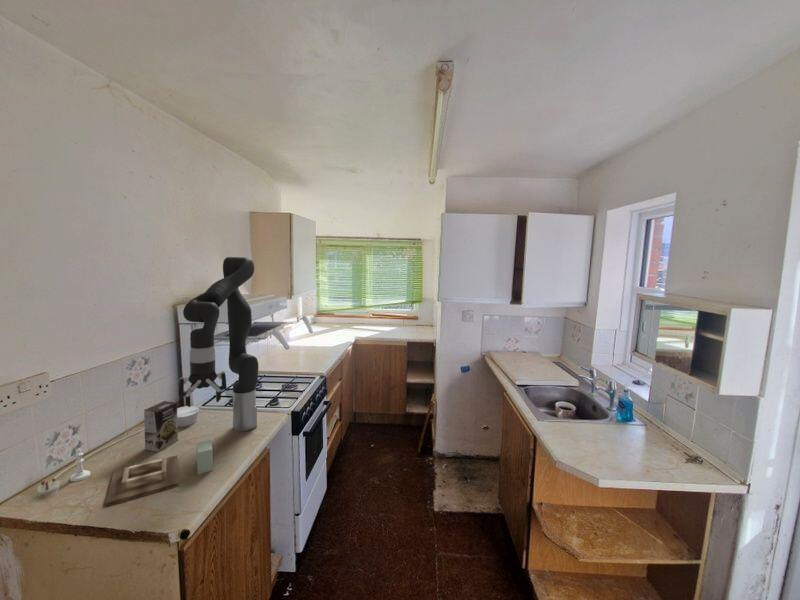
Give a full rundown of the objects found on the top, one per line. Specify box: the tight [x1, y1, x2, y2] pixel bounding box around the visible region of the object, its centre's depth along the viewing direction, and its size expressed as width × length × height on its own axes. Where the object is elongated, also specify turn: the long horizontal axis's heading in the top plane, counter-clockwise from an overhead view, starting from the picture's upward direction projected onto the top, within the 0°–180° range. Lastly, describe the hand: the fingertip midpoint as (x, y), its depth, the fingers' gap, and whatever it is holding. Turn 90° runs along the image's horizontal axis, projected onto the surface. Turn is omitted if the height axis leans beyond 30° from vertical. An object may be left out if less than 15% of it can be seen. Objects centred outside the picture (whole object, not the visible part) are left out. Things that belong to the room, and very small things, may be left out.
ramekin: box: [177, 405, 200, 428], centre depth 150 cm, size 11×11×5 cm
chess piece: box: [69, 447, 91, 482], centre depth 110 cm, size 5×5×10 cm
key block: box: [196, 439, 214, 475], centre depth 119 cm, size 4×7×8 cm, turn 34°
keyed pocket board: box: [105, 454, 179, 507], centre depth 111 cm, size 18×18×4 cm
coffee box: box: [143, 400, 179, 453], centre depth 130 cm, size 9×6×16 cm
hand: (203, 403), depth 116 cm, fingers open, 8 cm apart
